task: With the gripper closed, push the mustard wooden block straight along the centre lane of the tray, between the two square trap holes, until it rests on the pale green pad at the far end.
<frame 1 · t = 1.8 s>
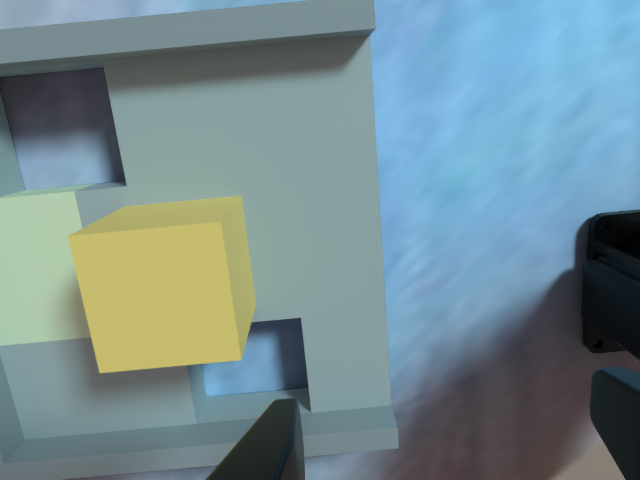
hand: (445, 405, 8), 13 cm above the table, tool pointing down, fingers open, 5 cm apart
tray: (179, 245, 21), on the table
block: (192, 257, 19), point 2 cm above the table, touching tray
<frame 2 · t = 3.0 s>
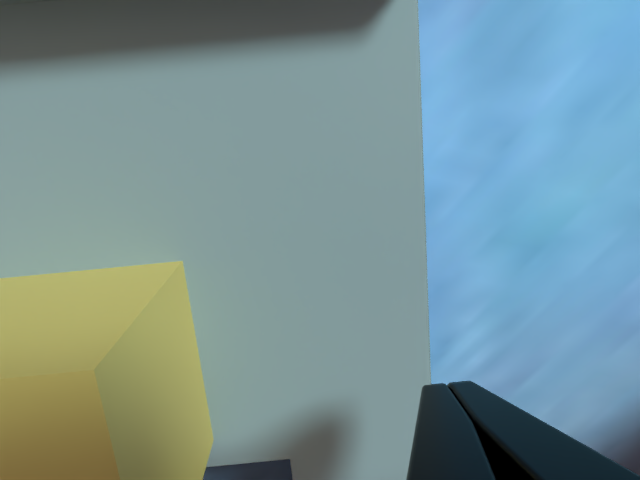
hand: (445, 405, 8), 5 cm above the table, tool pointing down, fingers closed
tray: (93, 330, 13), on the table
block: (100, 364, 11), point 2 cm above the table, touching tray
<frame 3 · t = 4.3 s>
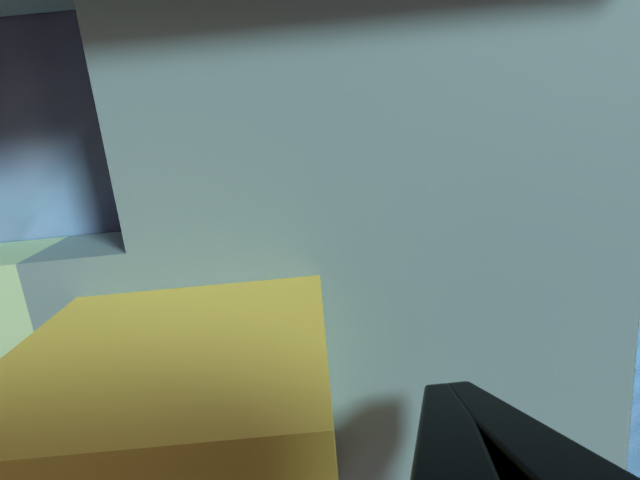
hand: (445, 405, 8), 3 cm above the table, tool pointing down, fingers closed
tray: (223, 346, 11), on the table
block: (215, 393, 9), point 2 cm above the table, touching gripper
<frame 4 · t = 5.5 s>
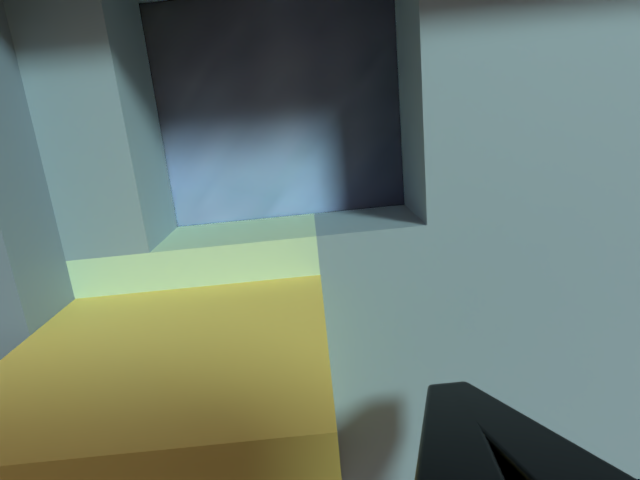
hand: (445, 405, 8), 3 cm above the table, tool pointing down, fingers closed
tray: (452, 325, 11), on the table
block: (216, 394, 9), point 2 cm above the table, touching tray, gripper
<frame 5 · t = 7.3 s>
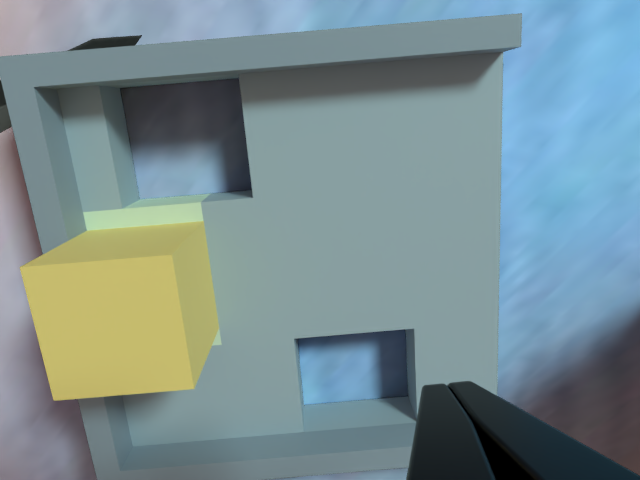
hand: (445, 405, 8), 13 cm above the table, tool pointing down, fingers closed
tray: (288, 255, 21), on the table
block: (155, 280, 19), point 2 cm above the table, touching tray
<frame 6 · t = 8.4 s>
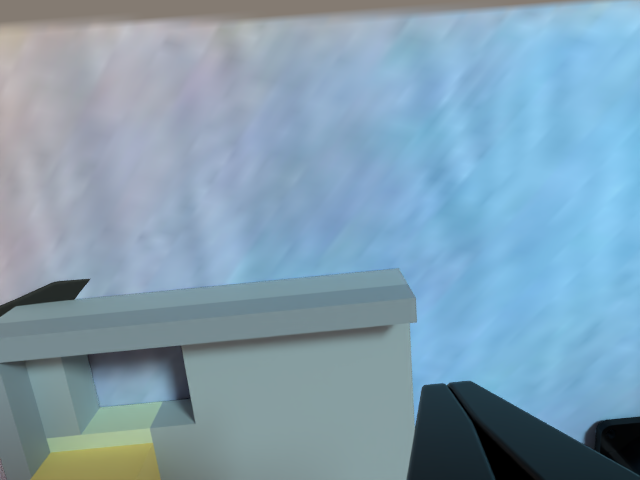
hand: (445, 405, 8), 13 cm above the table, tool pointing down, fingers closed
tray: (234, 449, 24), on the table
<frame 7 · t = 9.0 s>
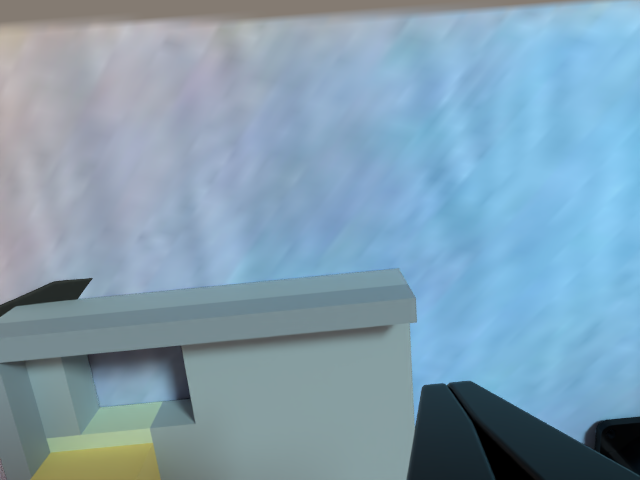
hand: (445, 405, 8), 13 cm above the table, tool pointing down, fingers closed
tray: (234, 449, 24), on the table
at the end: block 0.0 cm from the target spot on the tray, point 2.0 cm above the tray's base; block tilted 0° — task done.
